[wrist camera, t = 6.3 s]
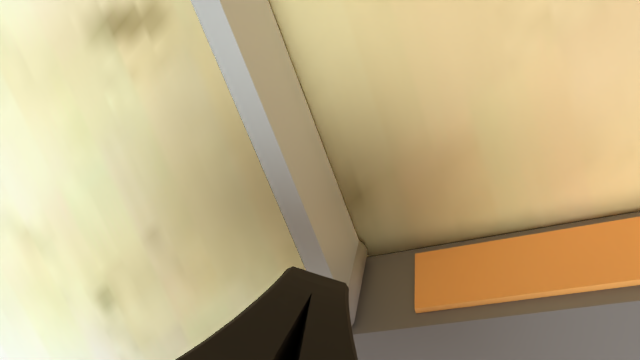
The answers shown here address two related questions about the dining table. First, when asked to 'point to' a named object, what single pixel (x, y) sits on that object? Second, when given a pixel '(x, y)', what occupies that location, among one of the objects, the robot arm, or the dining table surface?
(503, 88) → the dining table surface
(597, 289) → the camera body
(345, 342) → the robot arm
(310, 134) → the grey long bar
